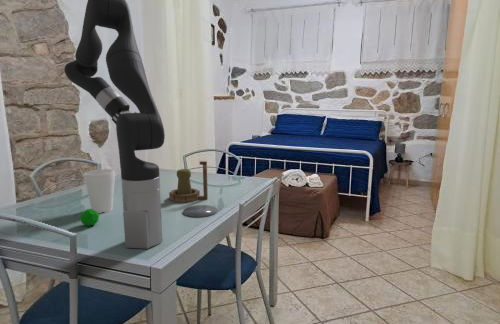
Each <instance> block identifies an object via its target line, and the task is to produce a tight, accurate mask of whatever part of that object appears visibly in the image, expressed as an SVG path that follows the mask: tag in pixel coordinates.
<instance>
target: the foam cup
mask: <svg viewBox="0 0 500 324" xmlns="http://www.w3.org/2000/svg"><path fill="white" fill-rule="evenodd" d="M115 172H116V171H115V169H103V168H102V169H93V170H92V169H91V170H87V171H85V172H84V173H83V179H84V182H85V186H86V191H87V194H88V199H89V203H90V207H91V208H90V209H92V210H94V211H96V212H98V214H102V213H101V212H105V213H109V212H112V211H113V207H114V196H115V195H114V192H115V179H116V173H115Z"/></svg>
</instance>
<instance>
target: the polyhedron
mask: <svg viewBox="0 0 500 324" xmlns="http://www.w3.org/2000/svg"><path fill="white" fill-rule="evenodd" d="M79 218H80V222H81V224H82V225H85V226H86V227H92V226H91V225H93V226H94V225H95V224H97V223H98V222H99V219H100V213H98V212H96V211H94V210H92V208H87V209H86V210H84V211H83V212H82V213H80V217H79Z"/></svg>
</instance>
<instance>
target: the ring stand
mask: <svg viewBox="0 0 500 324" xmlns="http://www.w3.org/2000/svg"><path fill="white" fill-rule="evenodd" d="M207 162H208V161H207V160H206V161H204V160H202V161H199V165H202V180H203V181H202V185H203V195H200V190H199V189H196V188H192V187H191V189H192V194H187V195H177V189H173V190H171V191H170V192H168V196H169V200H170V201H172V202H173V203H191V202H195V201H198V200H208V198H209V195H208V192H209V191H208V190H209V189H208V166H207V165H208V163H207Z"/></svg>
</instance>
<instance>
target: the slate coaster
mask: <svg viewBox="0 0 500 324" xmlns="http://www.w3.org/2000/svg"><path fill="white" fill-rule="evenodd" d="M215 213H216V214H217V213H218V208H217V207H216V206H213V205H210V204H209V205H208V204H197V205H191V206H187V207H185V208H184V209H183V214H184V216H186V217H190V218H205V217H210V216H211V217H212V216H214V215H216V214H215Z"/></svg>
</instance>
